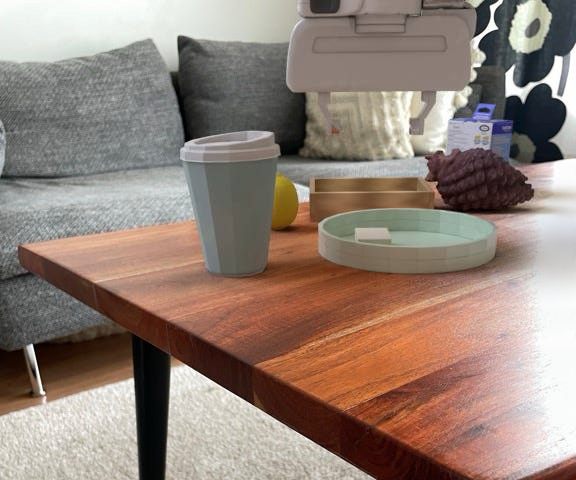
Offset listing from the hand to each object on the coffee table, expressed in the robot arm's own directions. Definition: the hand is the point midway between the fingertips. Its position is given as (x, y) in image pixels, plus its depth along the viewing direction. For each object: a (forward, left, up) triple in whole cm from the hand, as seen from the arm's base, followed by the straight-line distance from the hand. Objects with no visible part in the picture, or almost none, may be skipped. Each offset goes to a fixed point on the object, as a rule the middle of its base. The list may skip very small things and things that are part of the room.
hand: (374, 135), depth 82 cm
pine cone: (-18, -27, -14) cm, 35 cm away
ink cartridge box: (-20, -39, -14) cm, 46 cm away
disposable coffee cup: (+16, +8, -14) cm, 23 cm away
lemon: (+12, -12, -14) cm, 22 cm away
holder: (-1, -23, -14) cm, 27 cm away
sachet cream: (0, 0, -13) cm, 13 cm away
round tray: (-4, 0, -14) cm, 14 cm away
